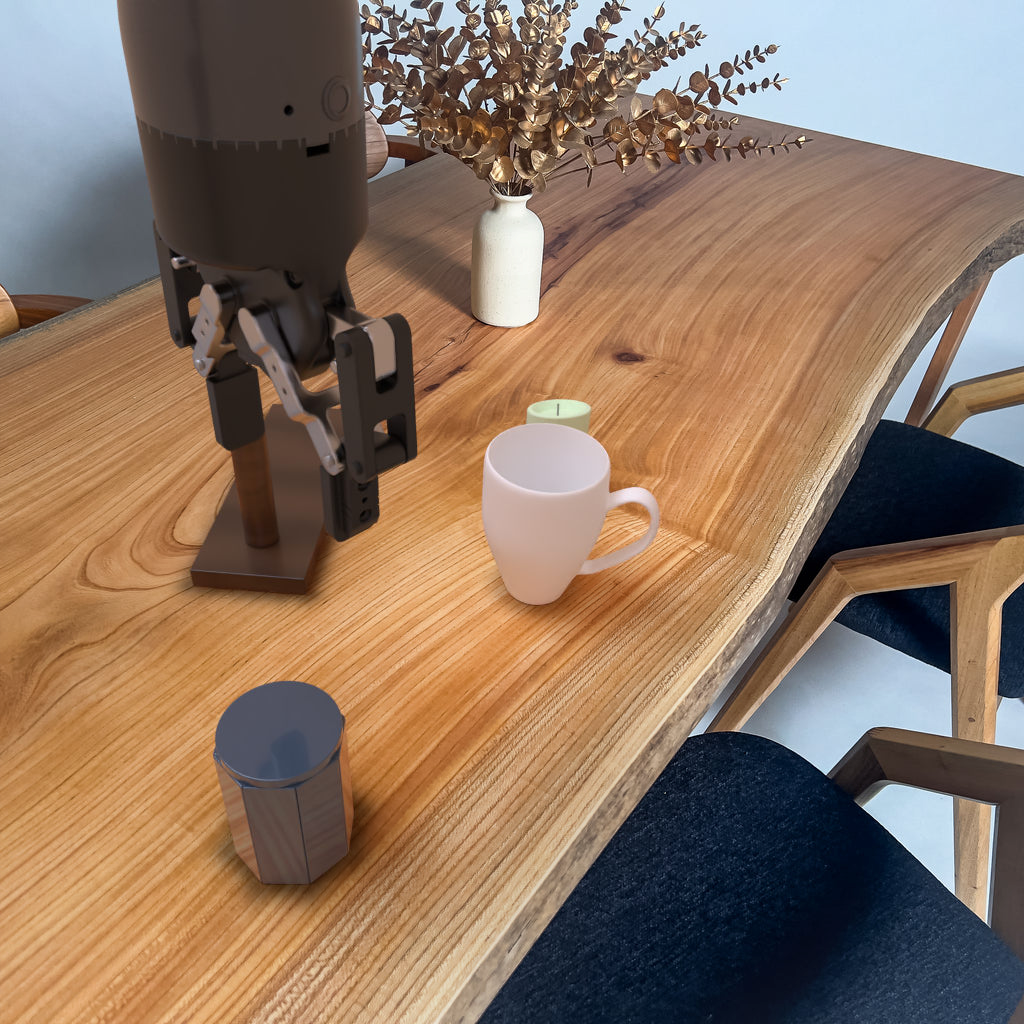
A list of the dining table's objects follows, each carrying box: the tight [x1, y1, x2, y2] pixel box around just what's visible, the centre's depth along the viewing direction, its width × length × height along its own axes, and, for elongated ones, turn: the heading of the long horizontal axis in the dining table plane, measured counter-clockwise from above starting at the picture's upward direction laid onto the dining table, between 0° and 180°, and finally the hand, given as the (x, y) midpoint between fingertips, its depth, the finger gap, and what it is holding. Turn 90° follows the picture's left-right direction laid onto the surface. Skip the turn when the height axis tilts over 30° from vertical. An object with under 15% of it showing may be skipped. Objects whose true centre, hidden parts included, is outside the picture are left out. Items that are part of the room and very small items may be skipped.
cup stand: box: [189, 403, 344, 595], centre depth 68 cm, size 22×8×12 cm, turn 177°
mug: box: [481, 423, 661, 606], centre depth 62 cm, size 12×8×11 cm
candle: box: [525, 398, 592, 435], centre depth 73 cm, size 5×5×8 cm
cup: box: [212, 680, 355, 885], centre depth 46 cm, size 6×6×9 cm
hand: (294, 484), depth 40 cm, fingers open, 8 cm apart
